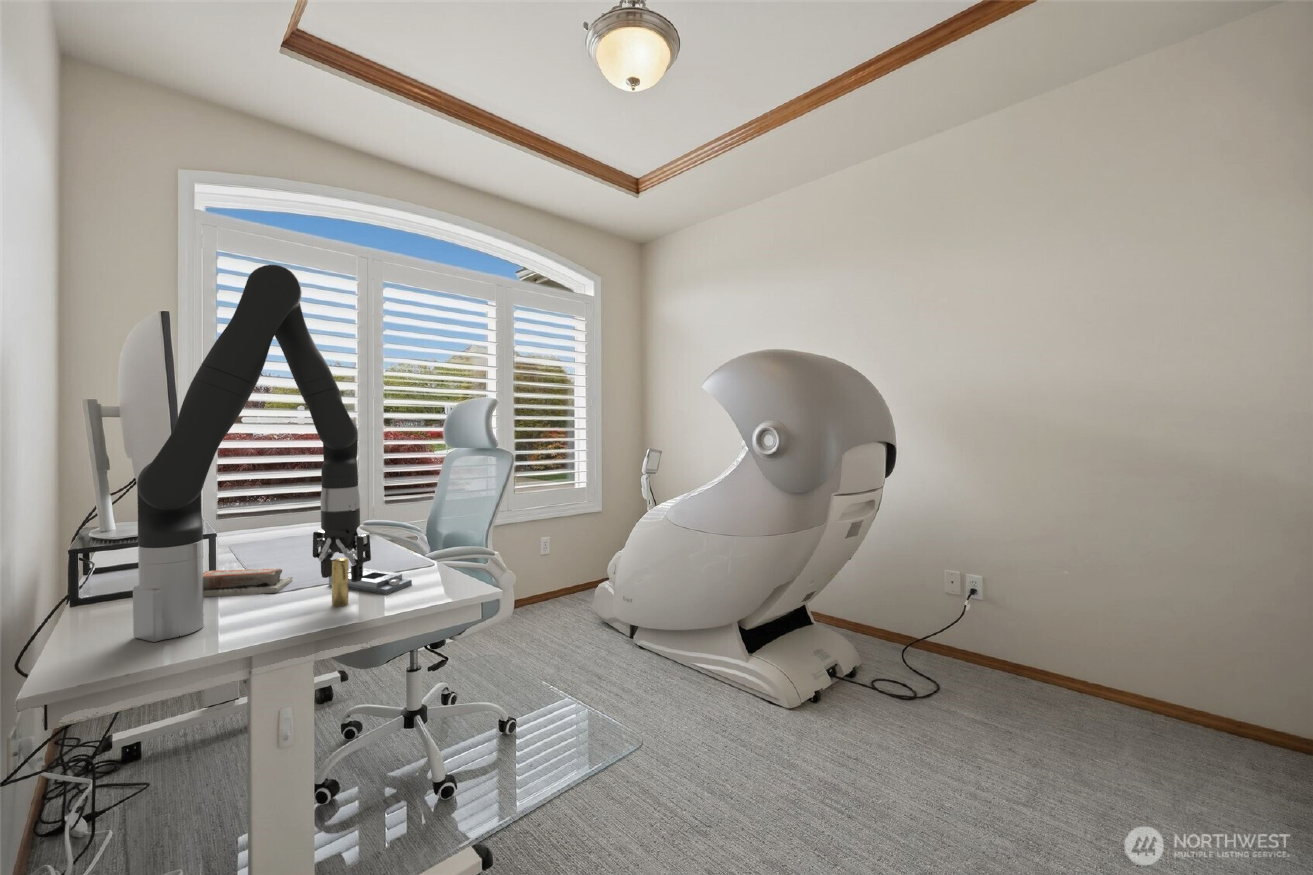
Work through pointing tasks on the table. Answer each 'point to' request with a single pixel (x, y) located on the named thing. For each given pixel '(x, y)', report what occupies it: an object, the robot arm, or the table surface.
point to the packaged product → (243, 582)
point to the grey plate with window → (377, 581)
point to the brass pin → (339, 582)
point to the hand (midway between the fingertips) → (341, 579)
